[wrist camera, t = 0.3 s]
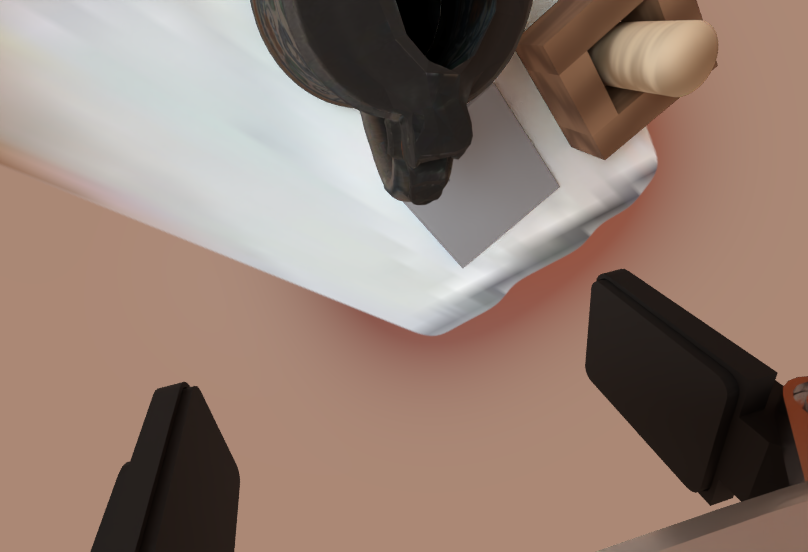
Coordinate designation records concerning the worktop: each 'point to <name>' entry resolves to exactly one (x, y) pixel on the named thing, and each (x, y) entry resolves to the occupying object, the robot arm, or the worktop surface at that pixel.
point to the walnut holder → (593, 70)
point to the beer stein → (397, 75)
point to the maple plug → (656, 56)
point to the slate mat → (487, 182)
